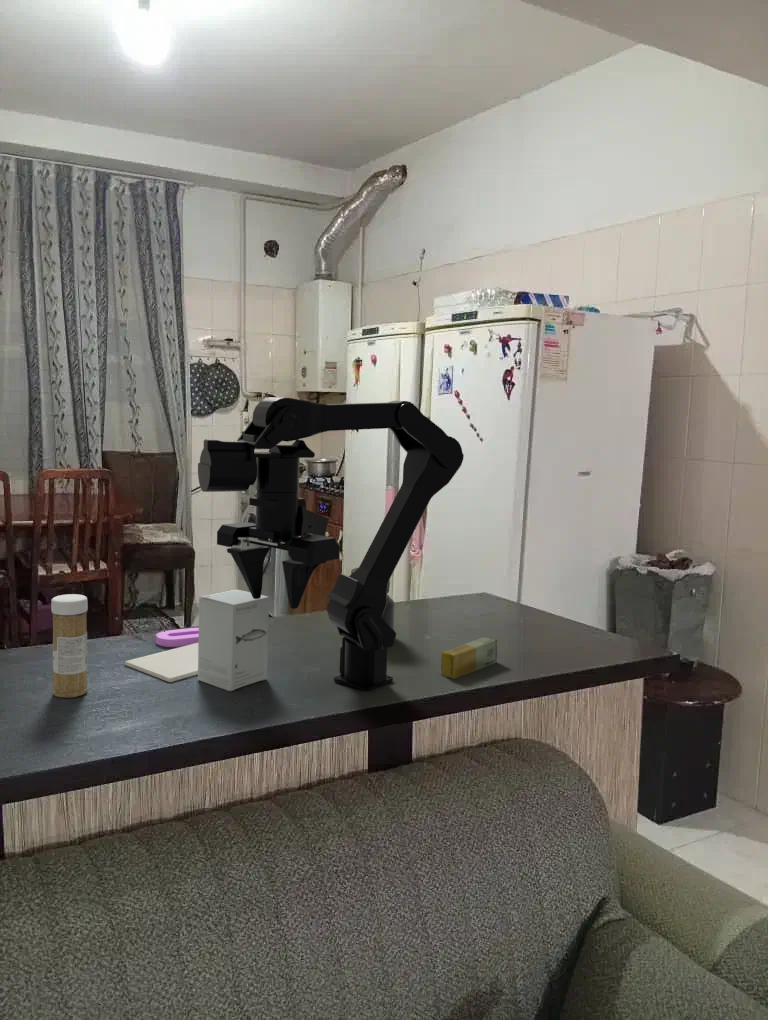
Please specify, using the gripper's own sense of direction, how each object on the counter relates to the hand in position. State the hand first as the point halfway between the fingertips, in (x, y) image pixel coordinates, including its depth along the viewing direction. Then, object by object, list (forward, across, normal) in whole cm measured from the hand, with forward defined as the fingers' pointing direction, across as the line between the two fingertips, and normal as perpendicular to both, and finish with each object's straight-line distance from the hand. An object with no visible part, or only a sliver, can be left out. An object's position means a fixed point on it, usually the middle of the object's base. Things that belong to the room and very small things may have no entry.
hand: (275, 603), depth 112 cm
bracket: (+13, +28, -9) cm, 33 cm away
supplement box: (+13, +8, 0) cm, 16 cm away
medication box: (+14, -13, -30) cm, 35 cm away
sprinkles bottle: (+13, +20, +19) cm, 31 cm away
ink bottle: (+13, +9, -31) cm, 35 cm away
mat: (+13, +19, 0) cm, 23 cm away
